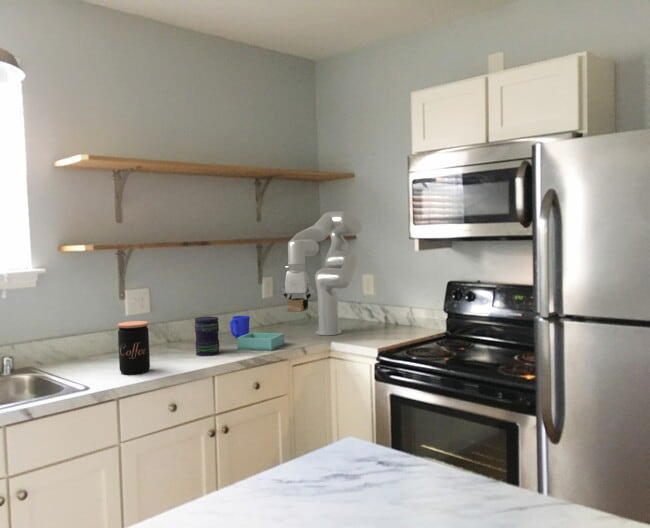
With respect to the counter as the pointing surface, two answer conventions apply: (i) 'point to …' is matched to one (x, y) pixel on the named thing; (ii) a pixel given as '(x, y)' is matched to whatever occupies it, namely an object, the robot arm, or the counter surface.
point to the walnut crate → (295, 305)
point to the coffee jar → (133, 347)
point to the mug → (239, 326)
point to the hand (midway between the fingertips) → (297, 307)
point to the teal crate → (260, 341)
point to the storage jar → (207, 336)
